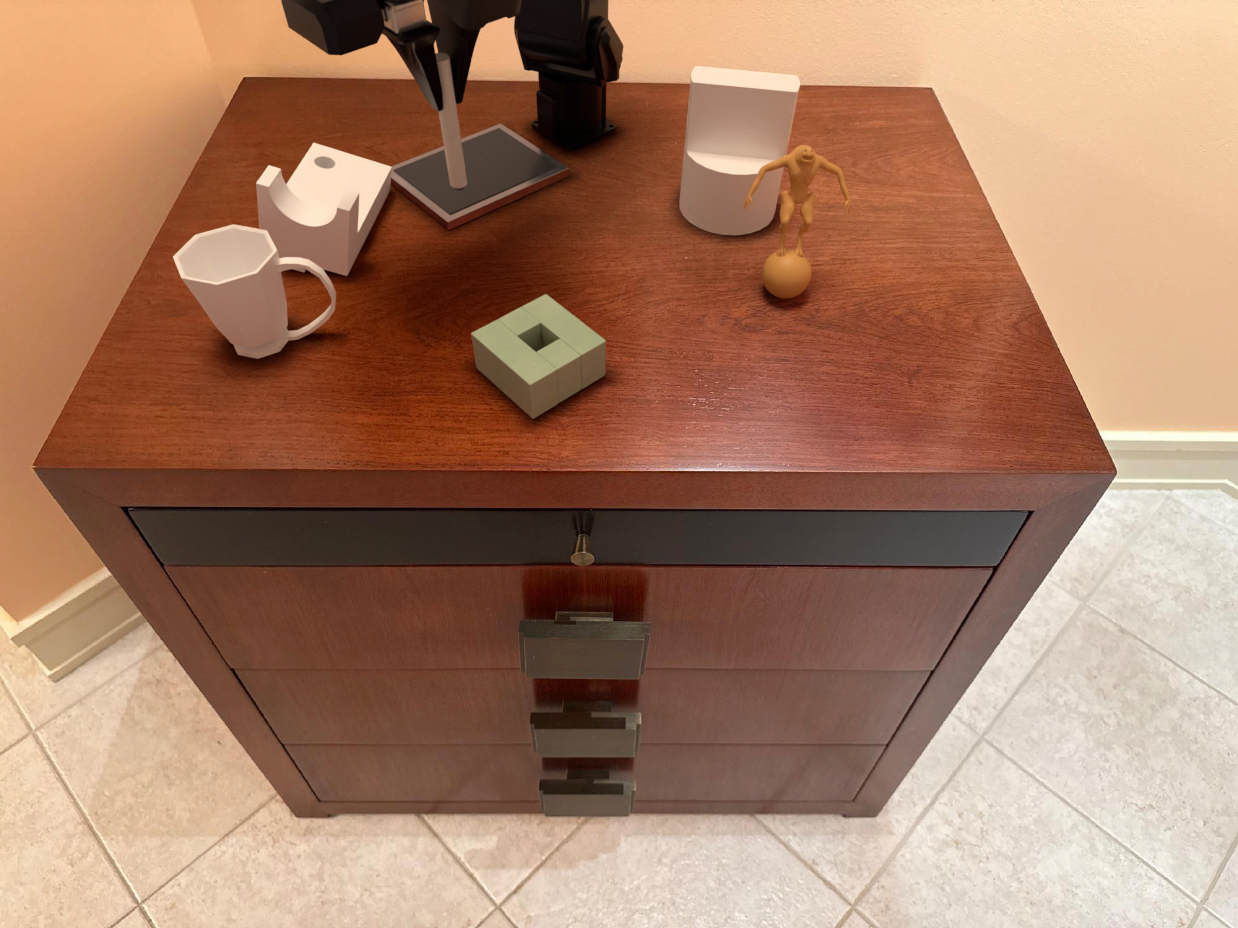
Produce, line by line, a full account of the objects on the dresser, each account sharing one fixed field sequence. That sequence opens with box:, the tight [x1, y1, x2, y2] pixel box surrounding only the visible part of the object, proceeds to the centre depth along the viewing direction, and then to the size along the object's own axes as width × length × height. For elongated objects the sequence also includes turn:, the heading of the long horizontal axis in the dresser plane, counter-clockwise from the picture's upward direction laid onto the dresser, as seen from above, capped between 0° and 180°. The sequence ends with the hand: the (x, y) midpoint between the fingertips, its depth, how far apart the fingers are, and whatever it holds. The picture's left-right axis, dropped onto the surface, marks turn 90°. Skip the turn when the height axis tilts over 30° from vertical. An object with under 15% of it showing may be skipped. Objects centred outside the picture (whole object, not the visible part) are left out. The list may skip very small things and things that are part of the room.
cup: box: [172, 223, 337, 360], centre depth 60 cm, size 7×10×8 cm
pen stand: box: [470, 293, 607, 420], centre depth 60 cm, size 7×7×4 cm
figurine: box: [744, 144, 851, 299], centre depth 64 cm, size 8×6×12 cm
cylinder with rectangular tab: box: [678, 65, 801, 236], centre depth 71 cm, size 9×9×12 cm
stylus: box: [435, 52, 467, 191], centre depth 62 cm, size 1×1×11 cm
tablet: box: [390, 123, 570, 231], centre depth 78 cm, size 14×11×1 cm
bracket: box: [255, 142, 392, 277], centre depth 69 cm, size 13×7×8 cm, turn 174°
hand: (446, 105), depth 61 cm, fingers closed on stylus, 1 cm apart
